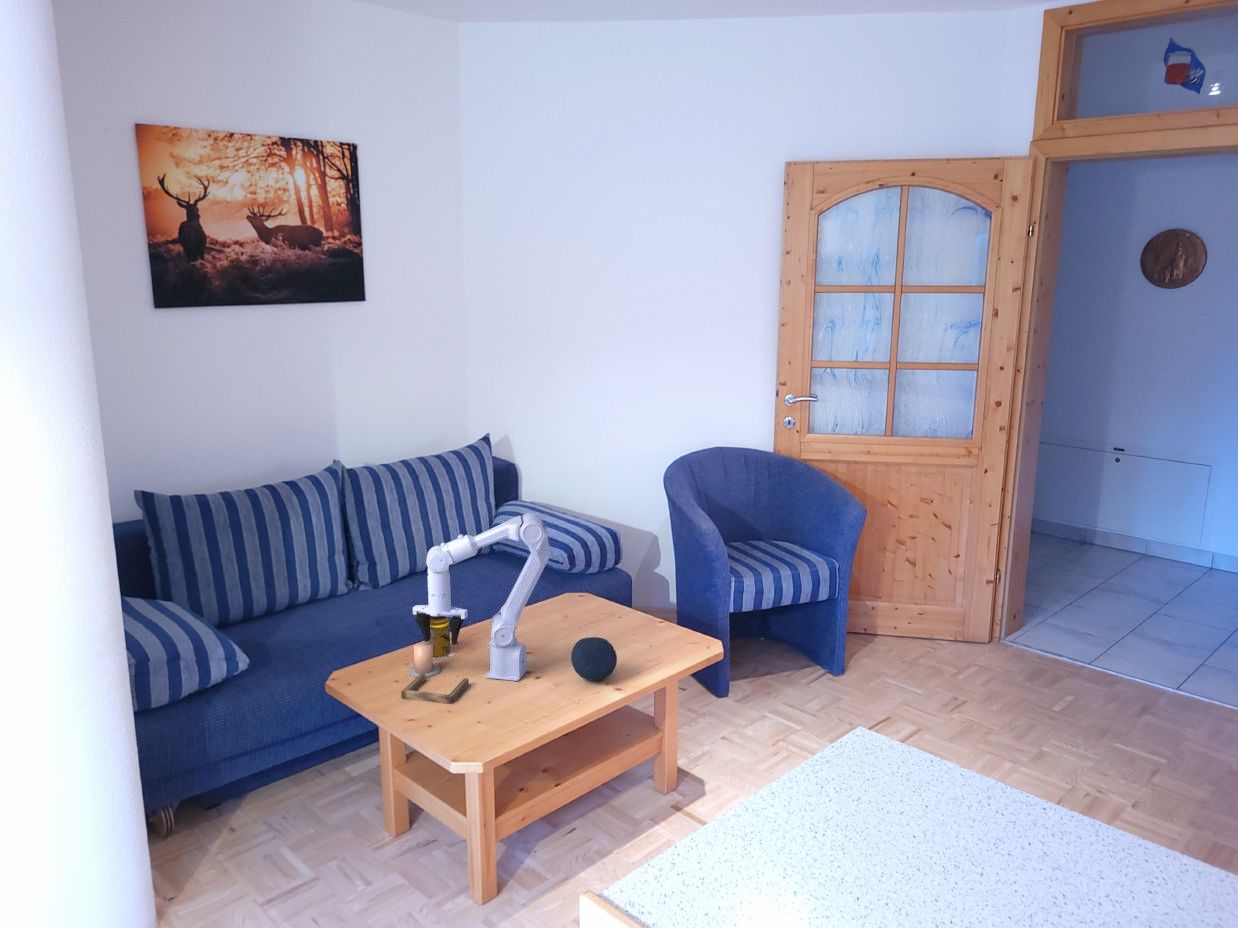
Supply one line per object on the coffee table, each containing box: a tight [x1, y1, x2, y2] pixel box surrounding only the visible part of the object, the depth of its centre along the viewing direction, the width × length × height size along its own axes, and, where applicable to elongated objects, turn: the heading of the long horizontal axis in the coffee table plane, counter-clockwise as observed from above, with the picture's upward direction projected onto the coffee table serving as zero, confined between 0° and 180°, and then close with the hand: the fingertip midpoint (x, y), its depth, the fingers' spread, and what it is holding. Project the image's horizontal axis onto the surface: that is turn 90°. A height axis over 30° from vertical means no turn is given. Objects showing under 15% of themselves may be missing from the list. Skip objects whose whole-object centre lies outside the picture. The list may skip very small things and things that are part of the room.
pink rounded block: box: [413, 641, 433, 674], centre depth 250 cm, size 7×5×7 cm
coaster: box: [408, 663, 441, 679], centre depth 250 cm, size 8×8×1 cm
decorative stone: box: [570, 636, 618, 682], centre depth 246 cm, size 12×12×10 cm
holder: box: [400, 674, 470, 705], centre depth 238 cm, size 13×11×2 cm
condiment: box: [428, 616, 456, 660], centre depth 261 cm, size 7×8×12 cm
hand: (441, 641), depth 245 cm, fingers open, 7 cm apart
